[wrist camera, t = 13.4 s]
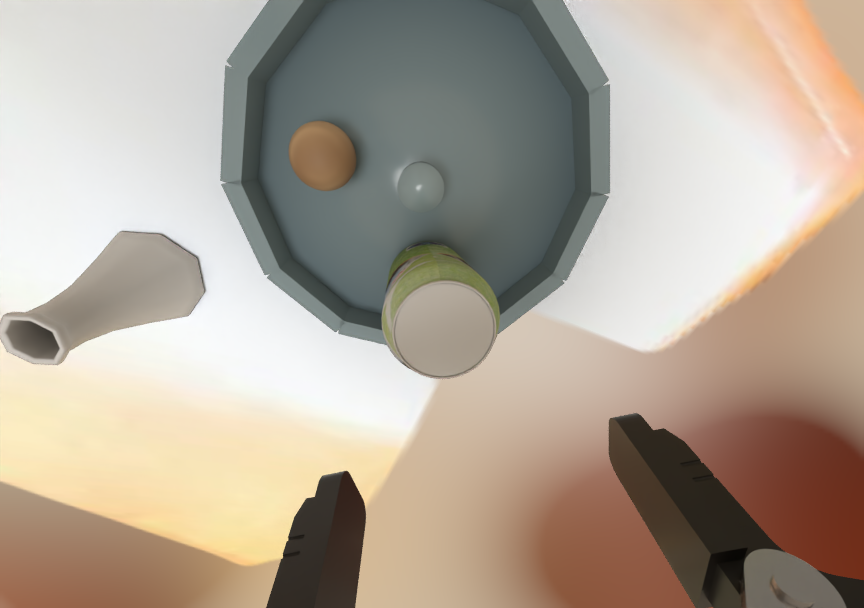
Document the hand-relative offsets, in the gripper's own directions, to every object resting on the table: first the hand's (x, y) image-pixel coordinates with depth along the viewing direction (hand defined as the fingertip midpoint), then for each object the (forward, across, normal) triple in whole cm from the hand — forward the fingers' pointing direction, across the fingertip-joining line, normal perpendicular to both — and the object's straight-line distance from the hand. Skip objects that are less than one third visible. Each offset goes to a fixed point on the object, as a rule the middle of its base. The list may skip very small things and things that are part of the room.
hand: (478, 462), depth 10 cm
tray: (+19, 0, -6) cm, 20 cm away
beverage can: (+18, +1, 0) cm, 18 cm away
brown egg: (+18, +6, -9) cm, 21 cm away
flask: (+20, +22, -4) cm, 30 cm away
